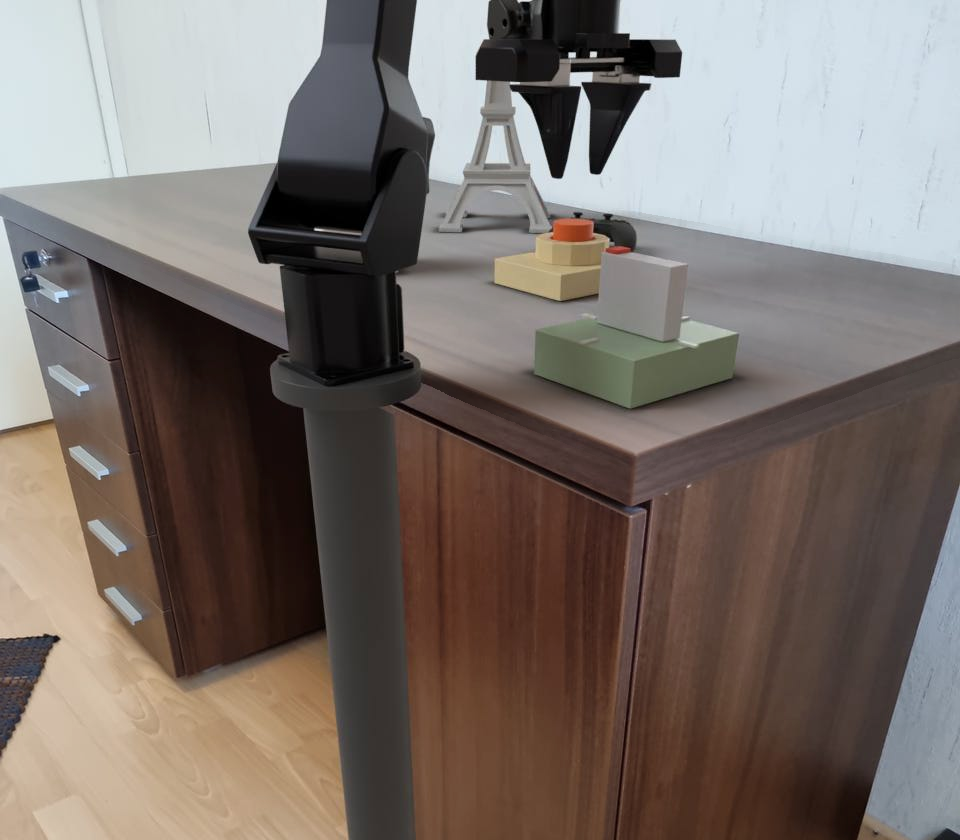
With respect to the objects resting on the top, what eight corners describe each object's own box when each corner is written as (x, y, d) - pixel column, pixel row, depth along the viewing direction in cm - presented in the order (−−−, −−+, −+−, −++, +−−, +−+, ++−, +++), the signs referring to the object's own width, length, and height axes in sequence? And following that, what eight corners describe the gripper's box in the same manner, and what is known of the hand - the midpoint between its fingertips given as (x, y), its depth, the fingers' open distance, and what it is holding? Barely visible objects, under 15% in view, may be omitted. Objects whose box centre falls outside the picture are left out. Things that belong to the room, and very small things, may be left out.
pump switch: (560, 301, 80) (562, 252, 78) (494, 283, 86) (494, 237, 84) (646, 284, 86) (650, 237, 84) (579, 268, 92) (581, 224, 89)
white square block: (679, 338, 59) (689, 259, 57) (662, 342, 58) (671, 263, 56) (613, 319, 63) (619, 245, 61) (596, 322, 62) (601, 248, 60)
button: (571, 247, 82) (572, 226, 81) (544, 241, 84) (545, 221, 83) (600, 243, 84) (602, 222, 83) (573, 237, 86) (574, 217, 85)
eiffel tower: (552, 233, 108) (565, -93, 91) (438, 231, 108) (432, -93, 92) (549, 214, 119) (561, -79, 103) (446, 213, 120) (442, -79, 103)
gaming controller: (541, 243, 97) (554, 194, 98) (549, 274, 102) (562, 227, 103) (631, 250, 94) (644, 199, 95) (635, 281, 99) (647, 232, 100)
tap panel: (636, 412, 56) (641, 360, 55) (526, 372, 63) (528, 325, 61) (741, 380, 62) (748, 332, 60) (629, 346, 68) (633, 302, 67)
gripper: (599, -35, 82) (588, 160, 91) (431, -45, 73) (436, 175, 81) (696, -42, 75) (674, 171, 84) (524, -54, 65) (518, 189, 74)
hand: (576, 176), depth 81 cm, fingers open, 4 cm apart
